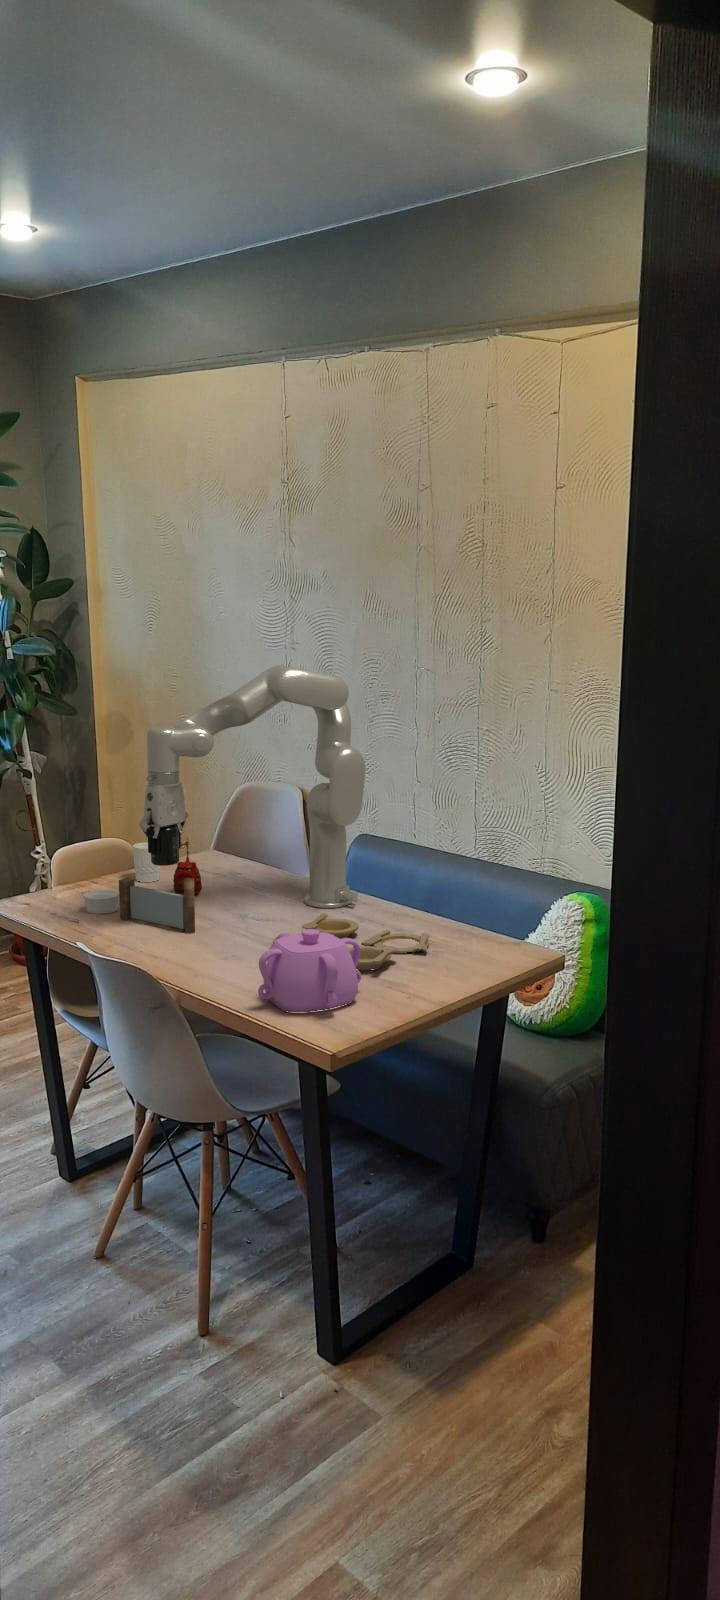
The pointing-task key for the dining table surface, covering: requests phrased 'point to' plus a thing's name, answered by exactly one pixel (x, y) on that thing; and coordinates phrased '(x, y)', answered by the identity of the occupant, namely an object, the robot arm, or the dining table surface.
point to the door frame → (189, 923)
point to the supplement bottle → (167, 846)
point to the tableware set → (367, 941)
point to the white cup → (144, 864)
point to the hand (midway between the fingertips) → (164, 850)
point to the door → (157, 906)
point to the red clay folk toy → (186, 875)
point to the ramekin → (101, 901)
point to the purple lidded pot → (310, 971)
